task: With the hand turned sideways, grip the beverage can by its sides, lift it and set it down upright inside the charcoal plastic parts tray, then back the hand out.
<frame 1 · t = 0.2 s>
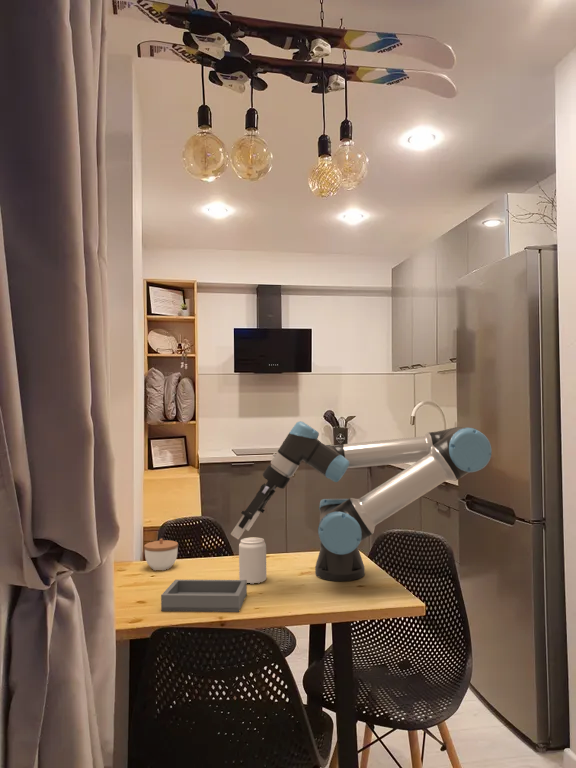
hand: (239, 532, 158), 16 cm above the table, tool tilted 35°, fingers open, 13 cm apart
beverage can: (253, 581, 164), on the table
lidded jar: (161, 568, 179), on the table
parts tray: (205, 602, 145), on the table
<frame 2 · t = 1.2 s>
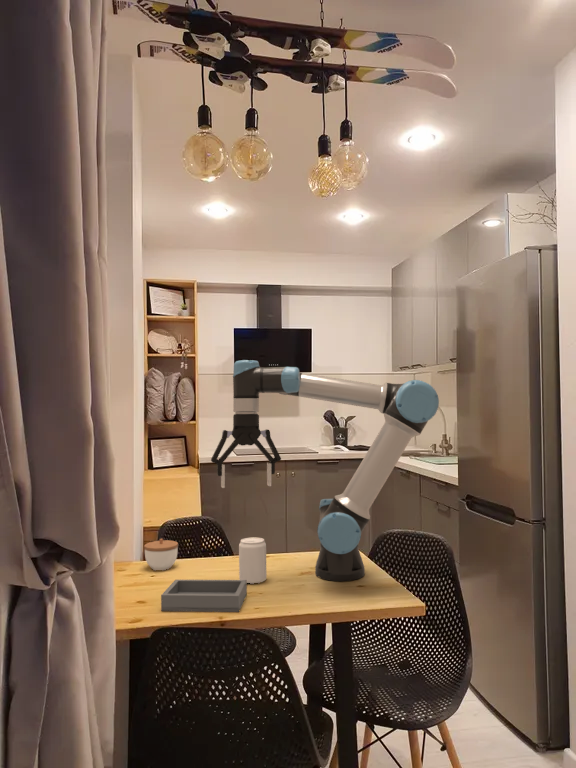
hand: (246, 486, 159), 29 cm above the table, tool pointing down, fingers open, 13 cm apart
nothing on the table moved.
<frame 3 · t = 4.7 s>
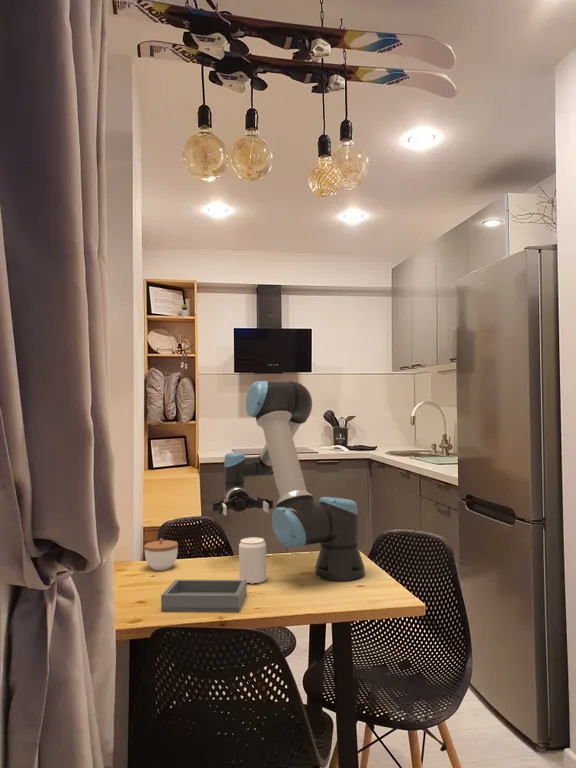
hand: (246, 510, 175), 19 cm above the table, tool horizontal, fingers open, 13 cm apart
nothing on the table moved.
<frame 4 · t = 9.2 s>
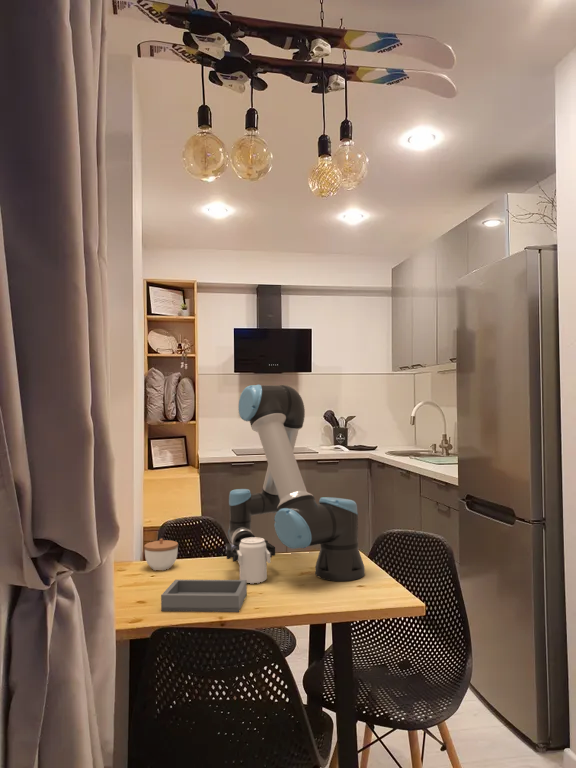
hand: (255, 559, 159), 8 cm above the table, tool horizontal, fingers closed on beverage can, 8 cm apart
beverage can: (253, 581, 164), on the table, touching gripper
everything else where it was.
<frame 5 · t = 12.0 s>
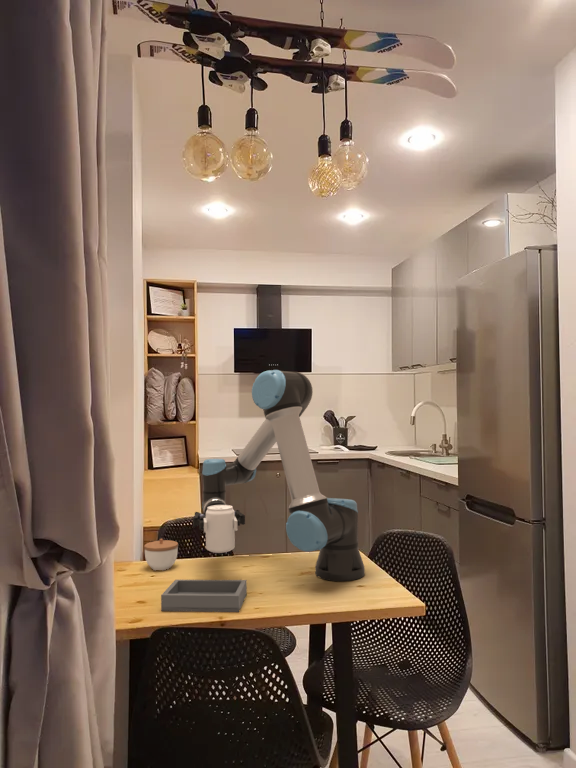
hand: (221, 526, 150), 19 cm above the table, tool horizontal, fingers closed on beverage can, 8 cm apart
beverage can: (220, 550, 155), point 11 cm above the table, touching gripper
everything else where it was.
when the fingers open (10 cm above the table, at t = 14.8 s): beverage can drops 1 cm, resting on parts tray.
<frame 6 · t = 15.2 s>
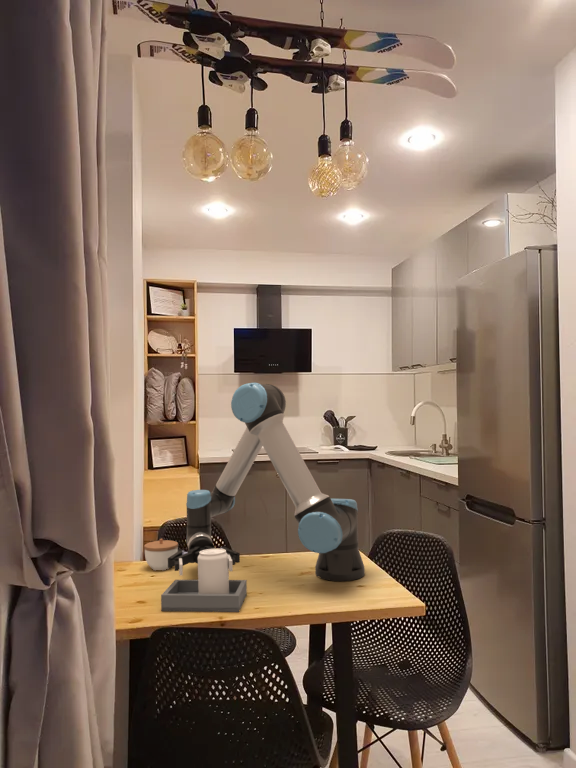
hand: (206, 568, 142), 10 cm above the table, tool horizontal, fingers open, 12 cm apart
beverage can: (214, 598, 146), point 1 cm above the table, touching parts tray
everything else where it was.
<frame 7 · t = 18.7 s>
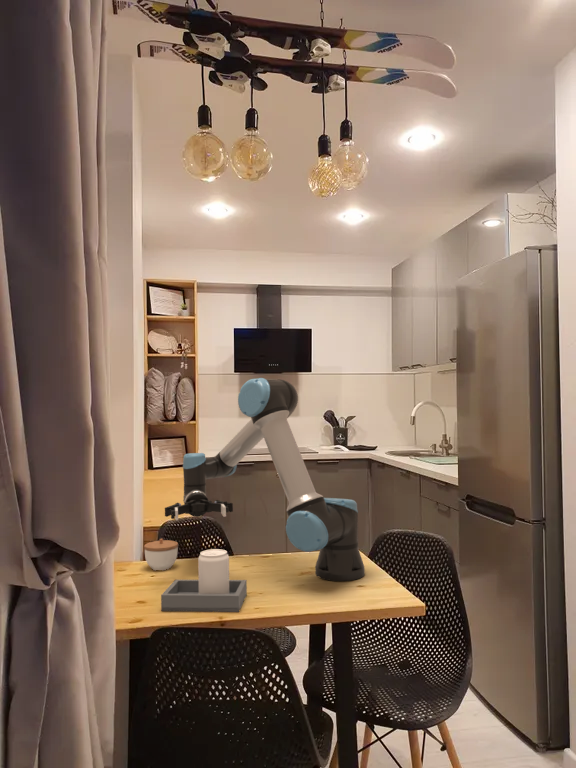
hand: (200, 513, 157), 21 cm above the table, tool horizontal, fingers open, 13 cm apart
nothing on the table moved.
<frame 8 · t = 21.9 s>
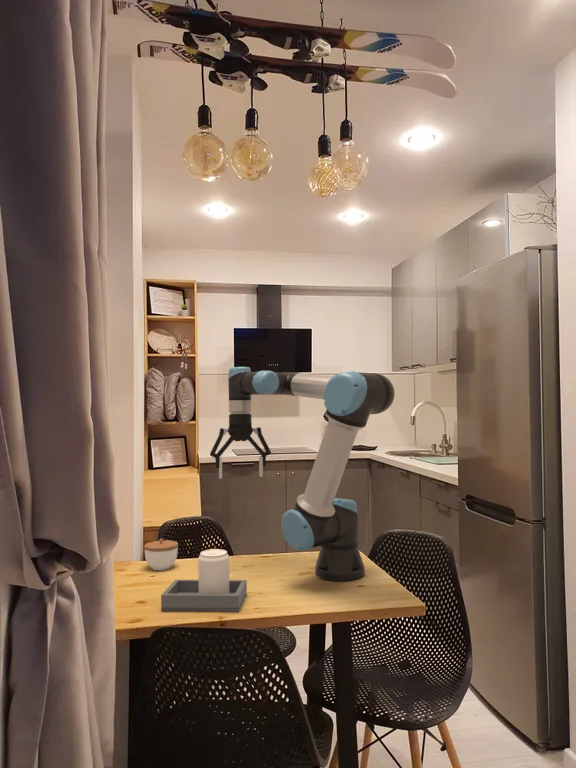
hand: (241, 477, 182), 29 cm above the table, tool pointing down, fingers open, 13 cm apart
nothing on the table moved.
at the end: beverage can inside the target area on the parts tray (2.3 cm from its centre), point 0.8 cm above the parts tray's base; beverage can tilted 0°; the gripper is holding nothing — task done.
